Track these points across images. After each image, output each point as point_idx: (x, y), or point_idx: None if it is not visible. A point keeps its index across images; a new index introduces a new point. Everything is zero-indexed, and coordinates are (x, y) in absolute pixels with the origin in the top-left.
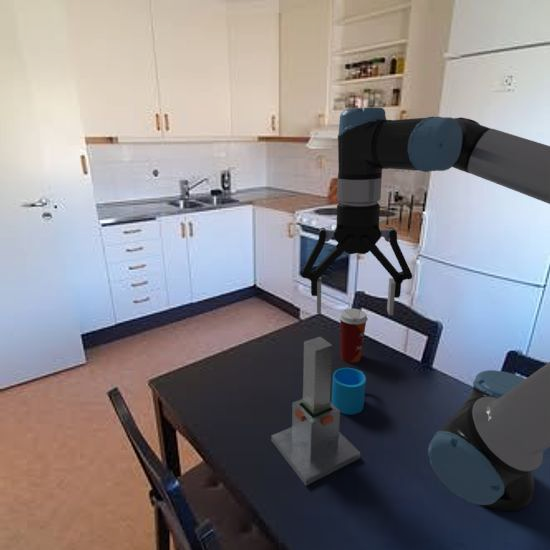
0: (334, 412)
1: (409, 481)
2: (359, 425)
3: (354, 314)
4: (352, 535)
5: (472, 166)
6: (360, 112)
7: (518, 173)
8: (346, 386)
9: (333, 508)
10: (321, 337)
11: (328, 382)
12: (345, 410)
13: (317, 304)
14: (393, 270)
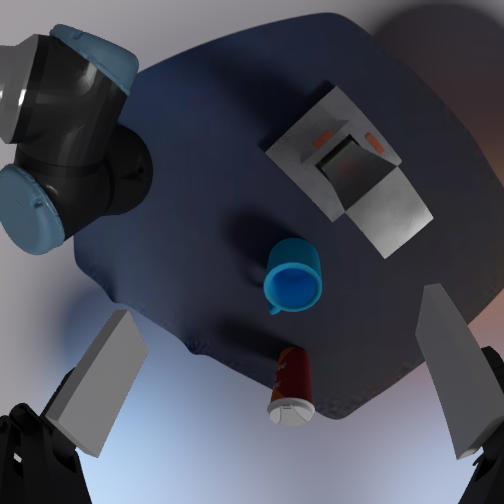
0: (311, 158)
1: (197, 131)
2: (272, 217)
3: (288, 415)
4: (262, 35)
5: None
6: None
7: None
8: (296, 262)
9: (291, 61)
10: (381, 254)
11: (334, 175)
12: (295, 240)
13: (457, 311)
14: (28, 473)
